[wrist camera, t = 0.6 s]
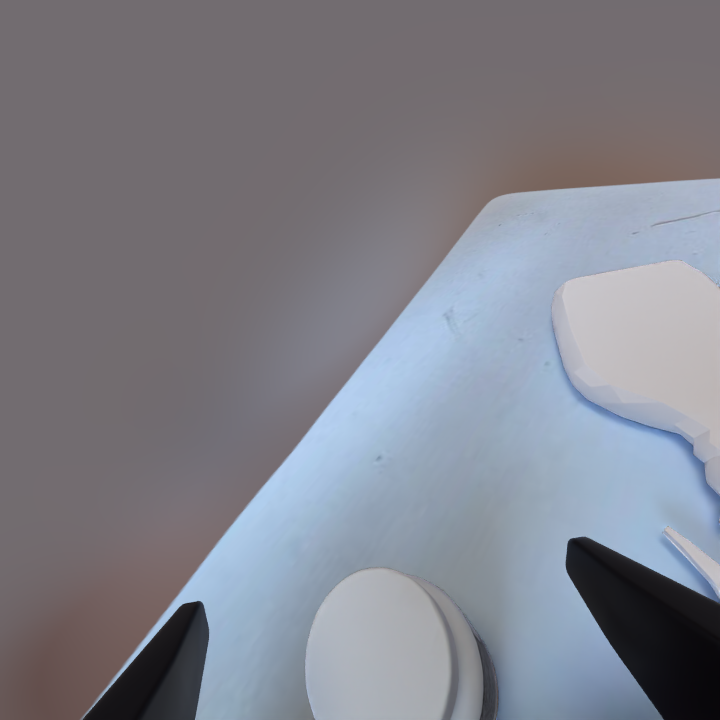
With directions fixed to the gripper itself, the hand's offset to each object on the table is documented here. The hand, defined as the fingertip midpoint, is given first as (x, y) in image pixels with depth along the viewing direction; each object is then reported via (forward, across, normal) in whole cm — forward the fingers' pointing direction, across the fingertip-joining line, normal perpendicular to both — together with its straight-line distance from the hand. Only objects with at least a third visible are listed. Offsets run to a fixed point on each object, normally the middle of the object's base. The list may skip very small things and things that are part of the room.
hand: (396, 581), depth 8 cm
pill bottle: (+6, -3, +12) cm, 14 cm away
